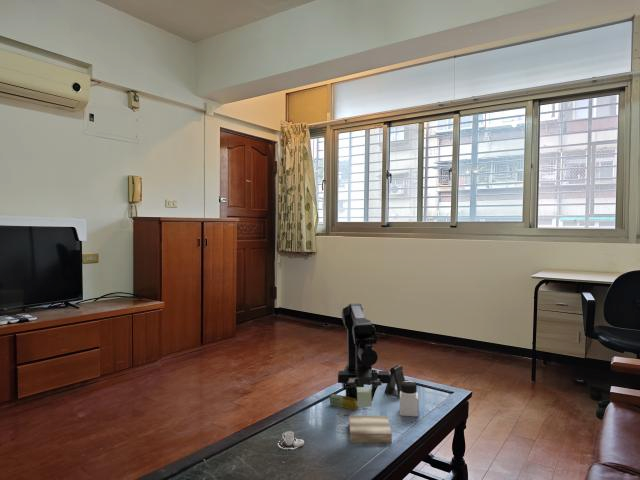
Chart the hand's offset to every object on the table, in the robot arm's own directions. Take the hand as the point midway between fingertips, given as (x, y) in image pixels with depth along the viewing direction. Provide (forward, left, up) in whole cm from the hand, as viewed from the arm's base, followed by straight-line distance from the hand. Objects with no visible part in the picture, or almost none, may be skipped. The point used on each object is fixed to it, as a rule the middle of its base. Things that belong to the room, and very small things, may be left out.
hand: (364, 400), depth 152 cm
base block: (+1, +2, -11) cm, 11 cm away
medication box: (-22, -7, -12) cm, 26 cm away
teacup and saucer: (+12, -25, -12) cm, 31 cm away
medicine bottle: (-16, +19, -12) cm, 27 cm away
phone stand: (-36, +17, -12) cm, 42 cm away
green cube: (0, 0, -1) cm, 1 cm away
